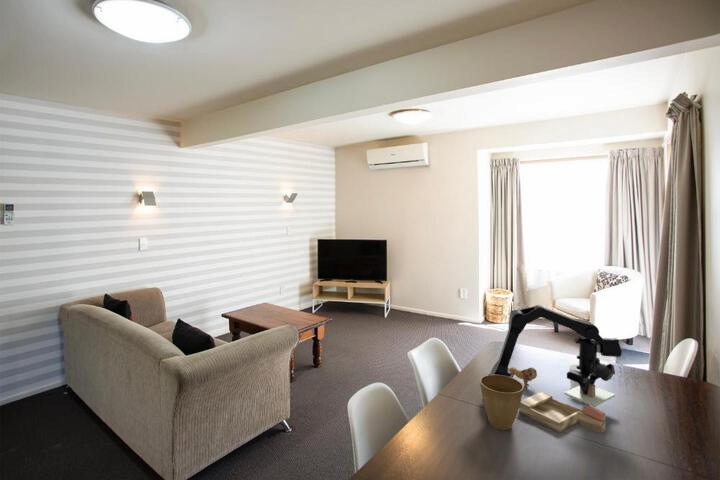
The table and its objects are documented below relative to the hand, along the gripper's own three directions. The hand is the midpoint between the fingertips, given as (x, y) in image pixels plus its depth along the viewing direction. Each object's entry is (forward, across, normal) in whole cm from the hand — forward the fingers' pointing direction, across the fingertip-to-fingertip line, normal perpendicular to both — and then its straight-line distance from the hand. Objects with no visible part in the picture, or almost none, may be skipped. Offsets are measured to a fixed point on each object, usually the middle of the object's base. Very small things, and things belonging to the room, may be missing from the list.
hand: (587, 393), depth 139 cm
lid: (+1, +2, 0) cm, 2 cm away
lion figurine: (+8, 0, +29) cm, 30 cm away
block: (+3, -9, -7) cm, 12 cm away
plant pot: (+8, -35, +12) cm, 38 cm away
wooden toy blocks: (+7, -15, +2) cm, 17 cm away
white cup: (+8, +15, +11) cm, 20 cm away
